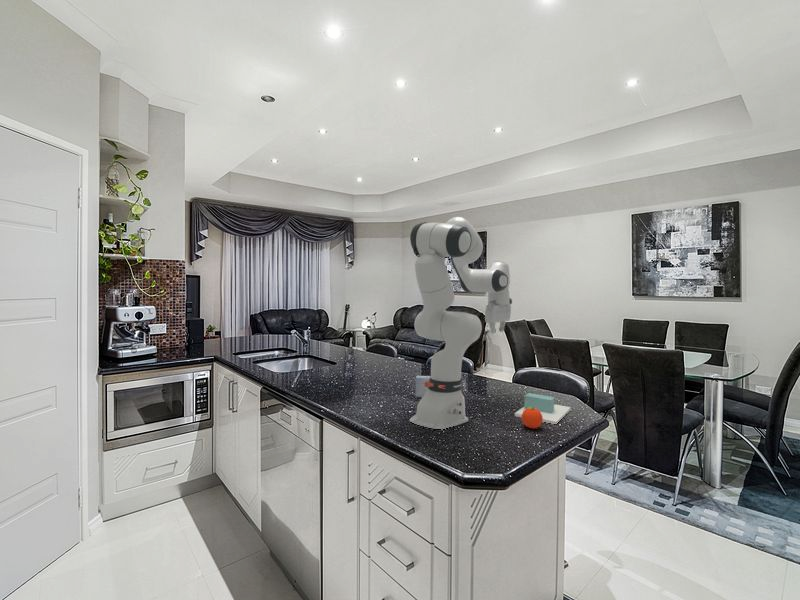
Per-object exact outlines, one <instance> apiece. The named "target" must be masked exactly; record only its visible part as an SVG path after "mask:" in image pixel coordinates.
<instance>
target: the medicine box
mask: <svg viewBox="0 0 800 600" xmlns="http://www.w3.org/2000/svg"><path fill="white" fill-rule="evenodd" d="M430 377H431V375H416V376H415V396H414V397H415V398H422V397H423V396H424V394H425V393H426V392H427V390H428V387H425V386H424V383H425V381H428V382H429V379H430Z"/></svg>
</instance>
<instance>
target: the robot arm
mask: <svg viewBox="0 0 800 600" xmlns="http://www.w3.org/2000/svg"><path fill="white" fill-rule="evenodd" d="M409 240H410V246H411V247H412V250H413V253H414V255H415V256H416V257H417V259H416V260H415V263H414V267H415V268H414V269H415V277H416V281H417V285H418V289H419V292H420V295H421V299H422V303H423V308H422V310H421V311H420V312H419V313H418V314H417V315H416V317H415V319H414V330H415V331H414V332H415V333H416V334H417V336H419V337H421V338H425V339H426V340H427V339H428V340H431V341H440V342H441V341H442V342H445V345H444V348H442V349H441V350H438V351H437V352H435V353H434V354H433V355H432V357H431V360H430V361H431V362H430V376H431V377H430V379H429V382H428V381H425V383H424V386H425V387H428V390H427V392H426V393H425V394H424V396H423V397H421V399H420V400H419V402H418V403H417V405H416V413H415V415H413V416H411V418H409V420H408V421H410V422H412V423H414V424H417V425H420V426H424V427H428V428H433V429H441V430H440V431H444V430H443V429H445V430H447V429H446V428H448V429H450V428H449V427H451V428H453V426H454V427H456V426H459V425H462V424H464V423H467V422H469V418H468V416H466V403H465V402H466V400H465V396H464V395H463V392H462V389H463V381H462V380H463V379H462V365H463V358H464V355H465V352H466V351H467V350H468V348H469V347H470V346H471V345H472V344H473V343H475V342H476V341H477V340H478V339H479V338H480V337H481V334H482V330H483V325H482V322H481V320H480V318H479V317H478V316H477V315H476V314H473V313H468V312H463V311H449V310H447V309H448V308H449V307H451V305H452V304H453V303H454V301H455V292H454V288H453V285H452V281H451V277H450V272H449V271H448V269H447V266H446V263H445V262H446V261H445V260H446V257H450V261H451V264H452V267H453V269H454V272H455V274H456V275H457V277H458V280H459V284H460V288H462V290H463V291H464V292H465V293H470V294H471V293H487V305H486V307H485V311H484V320H485V321H484V322H485V323H487V324H488V323H489V324H488V325H489V329H490V333H491V334H496V333H497V328H496V323H499V327H498V331H499V332H502V333H503V332H504V331H505V328H506V327H505V326H506V321H507V322H508V321H510V318H511V313H512V307H511V306H512V304H513V299H512V298H511V297H510V291H509V288H510V287H509V286H510V282H511V281H510V278H511V275H510V274H511V273H510V268H509V264H508V263H506V262H503V261H493V262H491V263H490V265H489V268H485V269H484V268H483V269H480V268H477V269H476V268H470V267H469V266H468V265H469V264H472V263H474V262H476V261H477V260H479V258H480V256H481V255H482V253H483V249H484V244H483V240H482V238H481V236H480V235H479V233H478V232H477V230H476V229H475V228H474V226H473V225H472V224H471V223H470V222H469V221H468V220H466V218H464V217H462V216H454V217H452V218H450V219H449V220H447V221H446V222H445V223H444V222H437V221H436V222H427V221H425V222H421V223H418V224H415V225H414V226H413V228H412V229H411V232H410V237H409ZM410 422H409V423H410ZM412 423H411V424H412ZM414 424H413V425H414ZM417 425H416V426H417ZM420 426H419V427H420ZM428 428H427V429H428ZM433 429H432V430H433Z"/></svg>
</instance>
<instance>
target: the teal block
mask: <svg viewBox="0 0 800 600" xmlns="http://www.w3.org/2000/svg"><path fill="white" fill-rule="evenodd" d="M523 404H524V406H523V407H524V408H526V407H532V408H536V409H537V410H539V411H541V412H546V413H552V412H553V411H554V404H555V397H553V396H549V395H548V396H547V395H542V394H537V393H531V392H528V393H526V394H525V395H524V403H523ZM526 409H527V408H526Z"/></svg>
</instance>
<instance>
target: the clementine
mask: <svg viewBox="0 0 800 600" xmlns="http://www.w3.org/2000/svg"><path fill="white" fill-rule="evenodd" d="M526 408H527V409H525V408H524V409H525V410H524V411H523V413H522V418H521V421H522V423H523V425H524V426H526V427H527V428H529V429H538V428H539V427H540V426H542V423H543V422H542V421H543V417H542V414H541V412H540V411H539V410H537V409H536V408H532V407H526Z"/></svg>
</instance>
